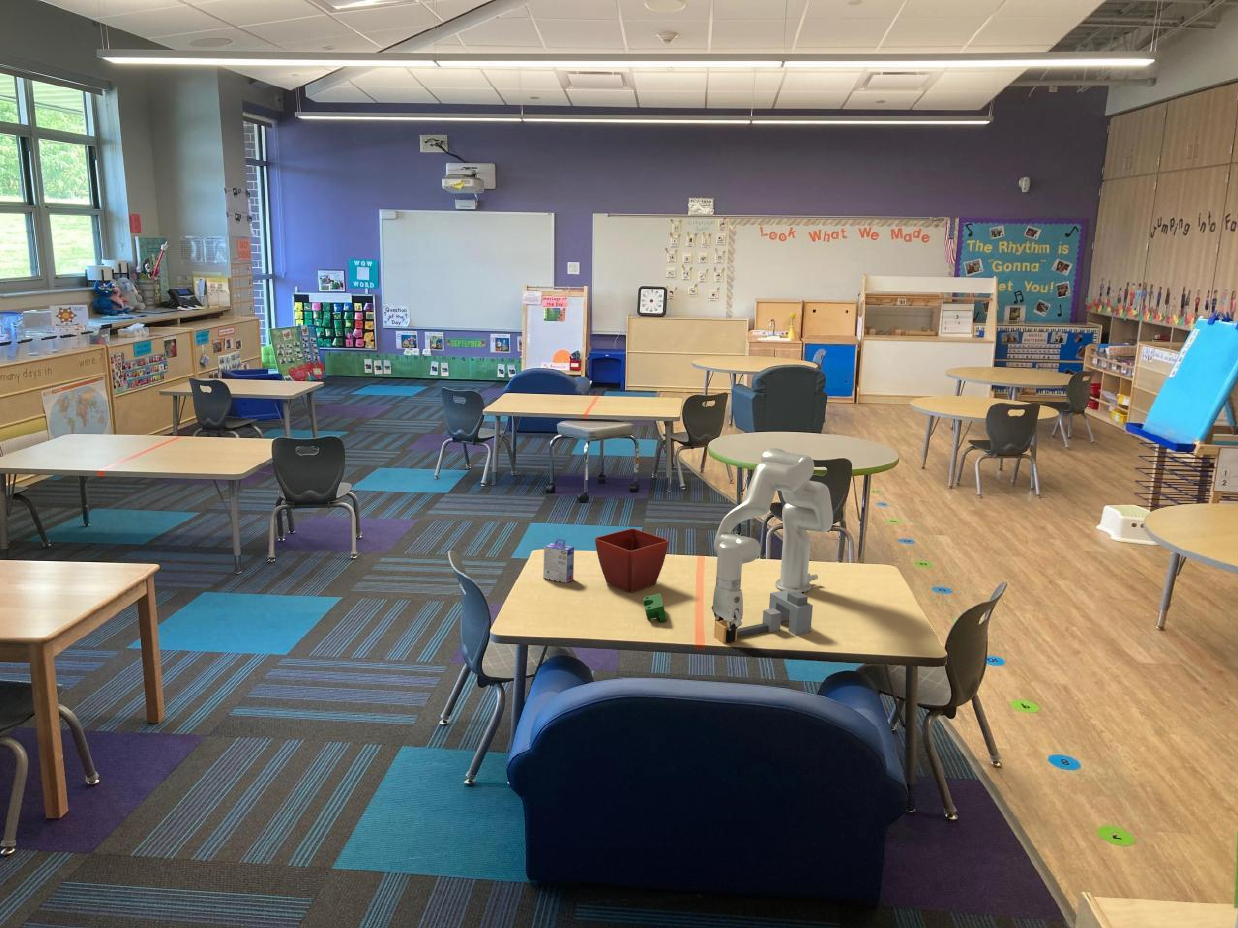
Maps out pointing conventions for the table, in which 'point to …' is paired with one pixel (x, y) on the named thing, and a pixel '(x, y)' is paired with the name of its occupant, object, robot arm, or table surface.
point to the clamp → (654, 607)
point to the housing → (793, 610)
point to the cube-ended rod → (769, 624)
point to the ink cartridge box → (558, 562)
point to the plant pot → (631, 558)
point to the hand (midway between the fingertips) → (725, 637)
